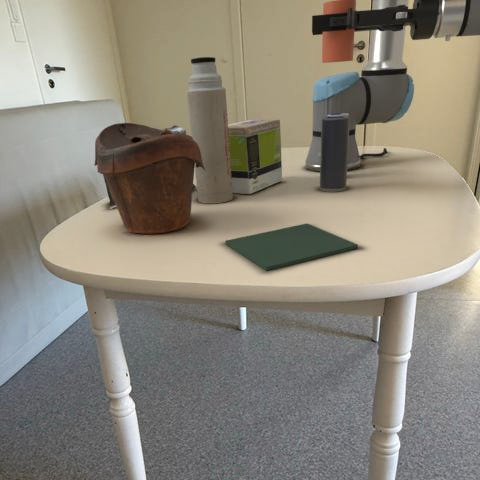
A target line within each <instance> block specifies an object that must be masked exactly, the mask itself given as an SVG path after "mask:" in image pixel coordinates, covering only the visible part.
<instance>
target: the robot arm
mask: <svg viewBox="0 0 480 480" xmlns="http://www.w3.org/2000/svg"><path fill="white" fill-rule="evenodd" d="M409 1H410V0H372V8H371V9H367V10H357V9H356V10H355V11H353V12H352V9H353V8H348V16H347V13H337V14H326V15H323V14H315V15H312V16H311V33H312V36H319V35H321V36H323V32H328V31H340V30H346V29H352V28H355V31H354V33H356V32H368V31H369V32H370V33H369V45H368V57H367V58H368V59H367V60H368V61H367V63H366V64H365V65H364V66H363V67H362V68H361V74H359V71H347V72H344V73H338V74H333V75H329V76H324V77H321V78H318V79H317V80H316V81H315V83H314V84H313V93H312V94H313V95H312V98H311V100H312V139H311V143H310V146H309V149H308V152H307V156H306V159H305V169H306V170H308V171H312V172H320V162H321V123H322V119H324V118H328V116H327V115H329V114H336V113H341V114H349V115H348V117H349V118H350V123H349V142H348V161H347V171H352V170H356V169H358V168H360V167H361V160H364V159H365V158H368V157H369V158H371V157H372V158H379V157H383V156H385V155H386V154H388V150H387V147H384V148H383V150H382V152H380V153H361V154H360V152H359V148H358V145H357V144H358V143H357V140H356V130H357V129H356V128H357V126H361V125H371V124H380V123H381V124H386V123H389V122H390V123H391V122H396V121H398V120H401V119H402V118H403V117H404V115H405V114H406V113H407V112H408V111H409V109H410V107H411V105H412V102H413V99H414V95H415V83H414V79H413V77H412V76H411V75H410V74H409V73H408V65H407V64H406V63H405V62H404V61H403V55H404V47H405V37H406V27H410V31H409V34H410V35H409V36H410V38H411V40H412V41H420V40H421V41H422V40H430V39H431V38H434V39H442V38H444V40H445V42H449V41H450V40H451V39H452V38H453V37H457V38H458V37H473V36H480V0H413V2H412V8H409ZM360 75H361V76H360Z"/></svg>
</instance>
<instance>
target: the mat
mask: <svg viewBox="0 0 480 480" xmlns="http://www.w3.org/2000/svg"><path fill="white" fill-rule="evenodd" d="M225 245H226V246H228V247H229V248H231V249H232V250H234V251H235V252H238V253H239V254H240V255H242V256H243V257H245V258H246V259H248V260H249V261H251V262H252V263H254V264H255V265H256V266H258V267H259V268H261V269H263V270H264V271H266V272H267V271H271V270H272V271H273V270H276V269H280V268H283V267H289V266H291V265H292V266H293V265H296V264H299V263H300V264H301V263H304V262H308V261H312V260H316V259H320V258H324V257H328V256H332V255H336V254H340V253H345V252H348V251H353V250H357V249H358V247H359V245H358V244H357V243H355V242H353V241H350V240H349V239H346V238H342V237H341V236H338V235H336V234H333V233H331V232H329V231H327V230H324V229H322V228H319V227H316V226H315V225H312V224H310V223H301V224H298V225H293V226H288V227H283V228H278V229H275V230H269V231H265V232H259V233H255V234H250V235H245V236H242V237H237V238H231V239H226V240H225Z"/></svg>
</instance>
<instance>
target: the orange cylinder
mask: <svg viewBox="0 0 480 480" xmlns="http://www.w3.org/2000/svg"><path fill="white" fill-rule="evenodd" d="M348 8H353V9H352V12H353V11H355V10H357V0H329V1H326V2H323V3H322V15H326V14H337V13H347V16H348ZM354 31H355V28H352V29H346V30H340V31H328V32H323V34H322V35H321V36H322V37H321V38H322V39H321V63H322V64H327V63H328V64H329V63H340V62H341V63H342V62H353V61H354V49H355V32H354Z"/></svg>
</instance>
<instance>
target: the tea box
mask: <svg viewBox="0 0 480 480" xmlns="http://www.w3.org/2000/svg"><path fill="white" fill-rule="evenodd" d="M228 133H229V148H230V162H231V177H232V191H233V194H239V195H240V194H241V195H251V194H254V193H256V192H258V191H261V190H263V189H265V188H268V187H271V186H273V185H275V184H277V183H281V182H283V166H282V165H283V163H282V139H281V138H282V137H281V119H246V120H242V121H237V122H233V123H232V122H231V123H228Z"/></svg>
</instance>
